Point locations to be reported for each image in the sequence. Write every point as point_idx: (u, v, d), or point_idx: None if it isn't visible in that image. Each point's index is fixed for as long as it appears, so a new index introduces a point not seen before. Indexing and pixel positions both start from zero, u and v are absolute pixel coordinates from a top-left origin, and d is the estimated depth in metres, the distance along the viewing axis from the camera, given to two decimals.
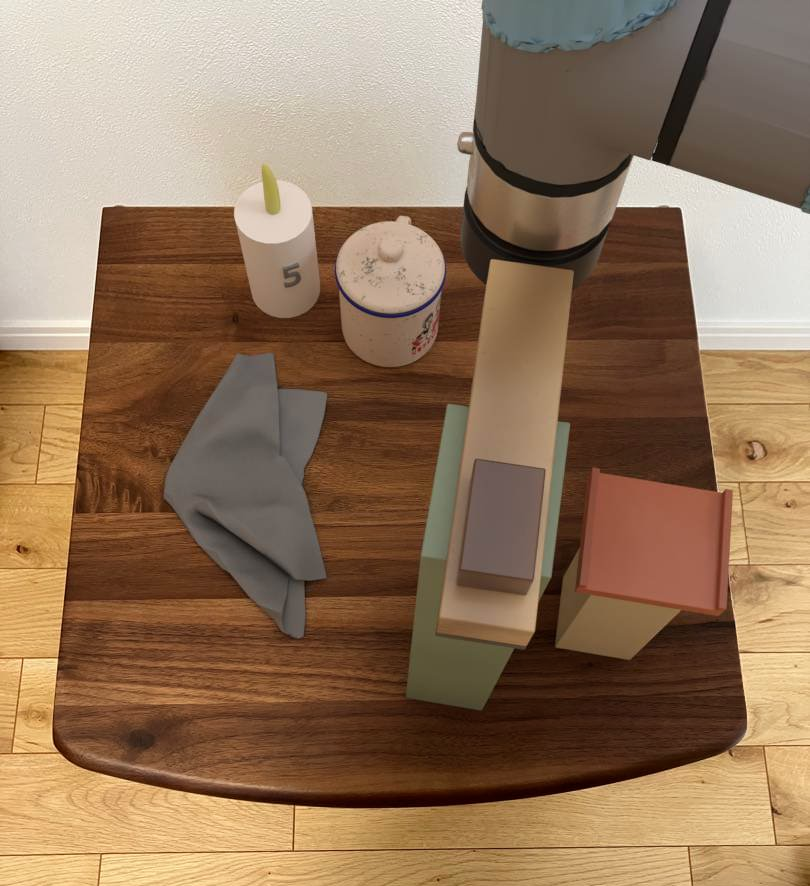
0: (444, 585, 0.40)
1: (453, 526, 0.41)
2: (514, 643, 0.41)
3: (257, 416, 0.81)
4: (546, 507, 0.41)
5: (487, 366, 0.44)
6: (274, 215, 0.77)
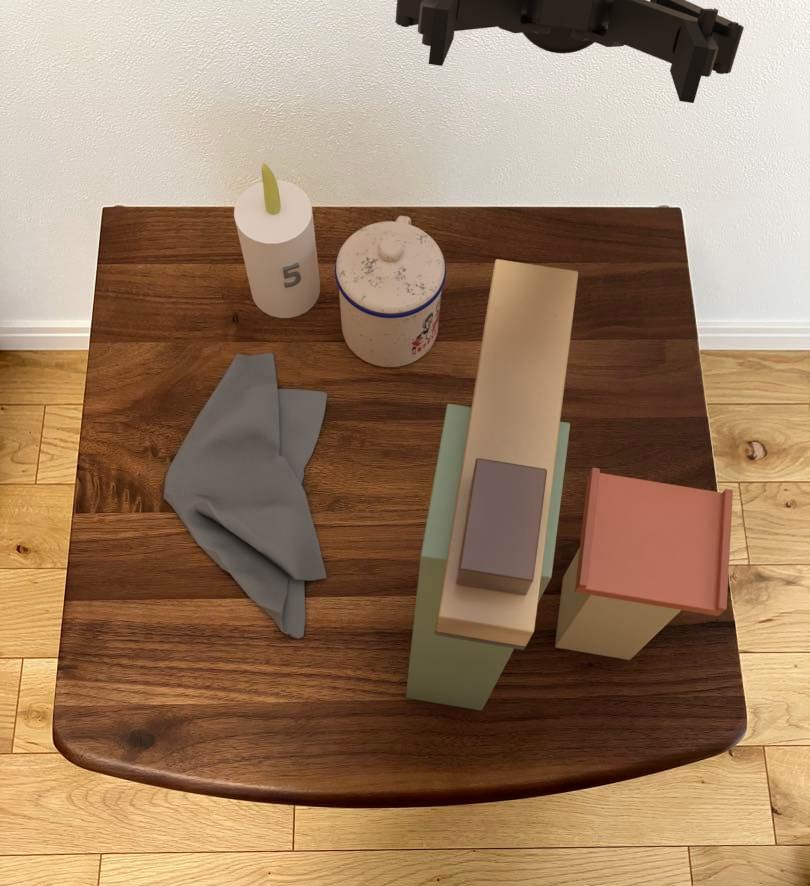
0: (444, 584, 0.40)
1: (454, 525, 0.41)
2: (513, 643, 0.41)
3: (257, 416, 0.81)
4: (547, 507, 0.41)
5: (490, 366, 0.44)
6: (274, 215, 0.77)
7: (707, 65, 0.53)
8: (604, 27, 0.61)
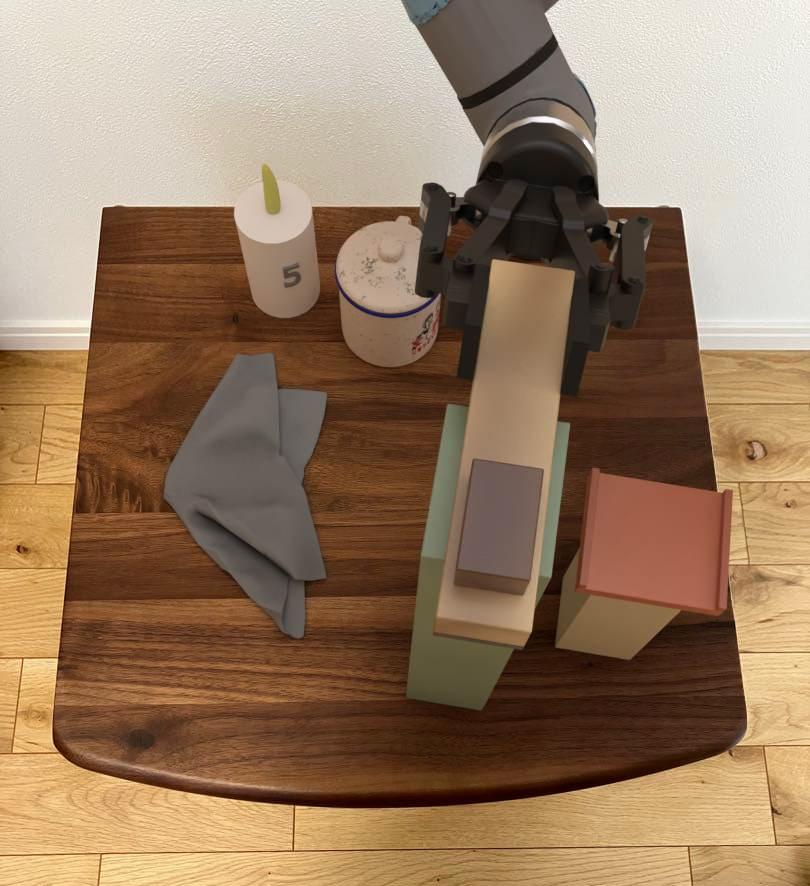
0: (441, 585, 0.40)
1: (451, 526, 0.41)
2: (511, 644, 0.41)
3: (257, 416, 0.81)
4: (544, 507, 0.41)
5: (487, 366, 0.44)
6: (274, 215, 0.77)
7: (598, 340, 0.45)
8: None
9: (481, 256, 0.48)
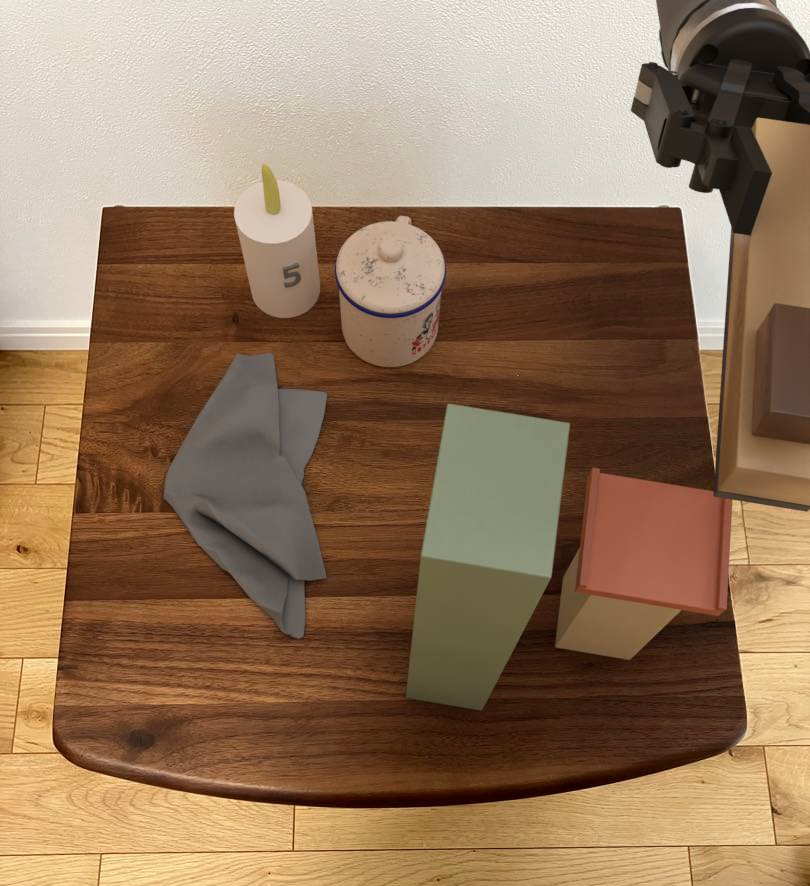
0: (739, 435, 0.38)
1: (743, 377, 0.39)
2: (801, 503, 0.40)
3: (257, 416, 0.81)
4: None
5: (763, 222, 0.42)
6: (274, 215, 0.77)
7: None
8: None
9: (733, 121, 0.46)
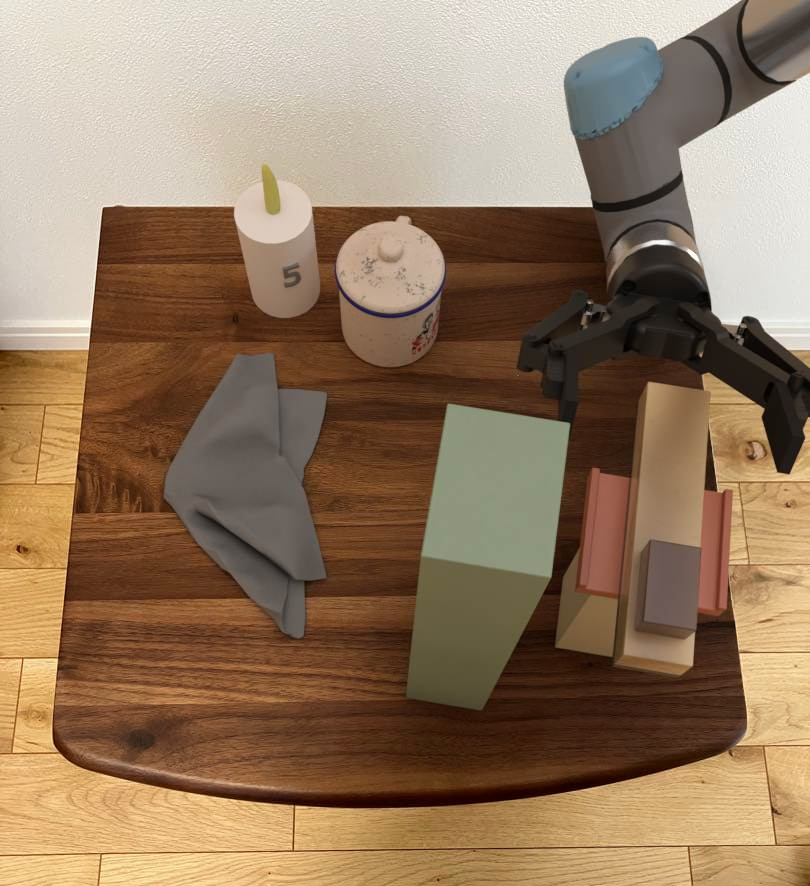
0: (625, 631, 0.55)
1: (630, 587, 0.56)
2: (671, 673, 0.56)
3: (257, 416, 0.81)
4: None
5: (649, 466, 0.59)
6: (274, 215, 0.77)
7: None
8: (696, 355, 0.69)
9: (572, 346, 0.63)
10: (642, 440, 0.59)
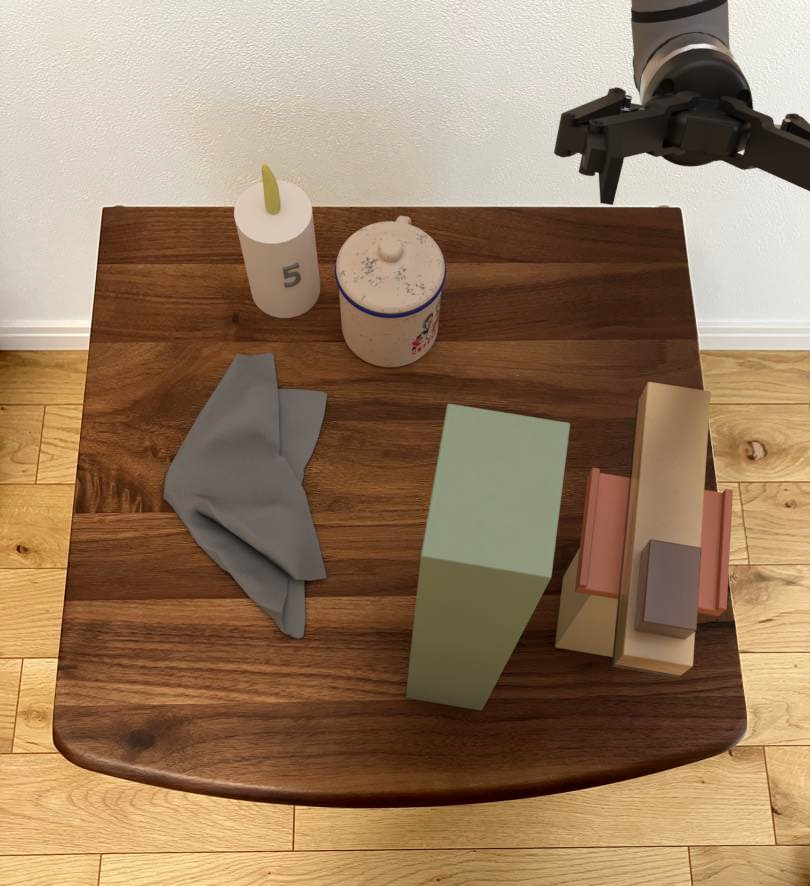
0: (625, 631, 0.55)
1: (630, 587, 0.56)
2: (671, 673, 0.56)
3: (257, 416, 0.81)
4: None
5: (649, 466, 0.59)
6: (274, 215, 0.77)
7: None
8: (739, 151, 0.66)
9: (613, 124, 0.61)
10: (642, 440, 0.59)
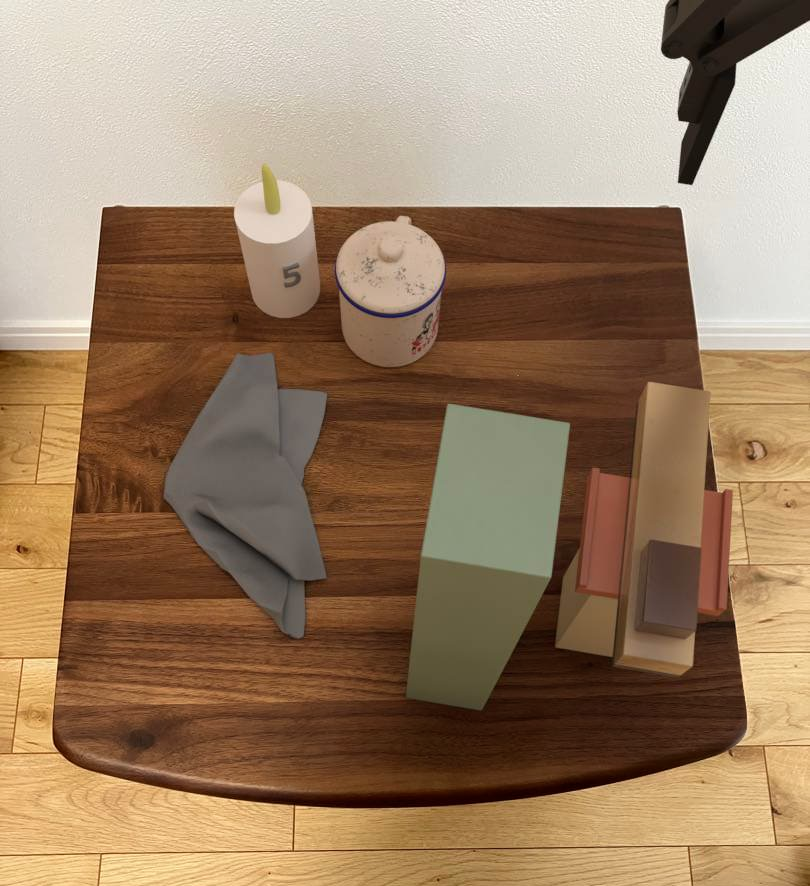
0: (625, 631, 0.55)
1: (630, 587, 0.56)
2: (671, 673, 0.56)
3: (257, 416, 0.81)
4: None
5: (649, 466, 0.59)
6: (274, 215, 0.77)
7: None
8: None
9: (734, 63, 0.42)
10: (642, 440, 0.59)
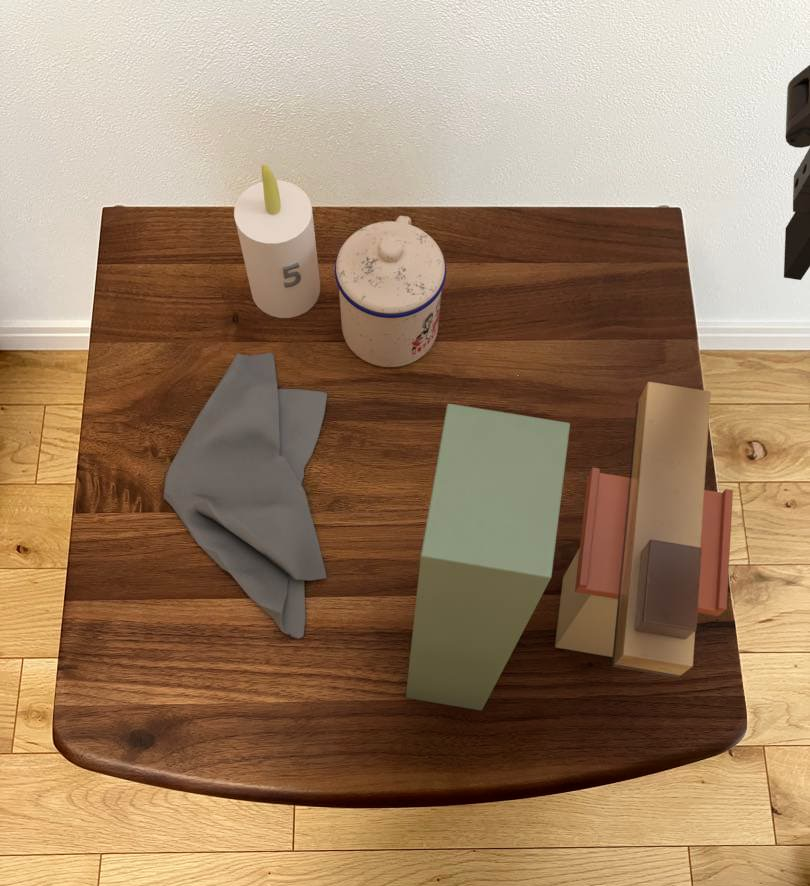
0: (625, 631, 0.55)
1: (630, 587, 0.56)
2: (671, 673, 0.56)
3: (257, 416, 0.81)
4: None
5: (649, 466, 0.59)
6: (274, 215, 0.77)
7: None
8: None
9: None
10: (642, 440, 0.59)
